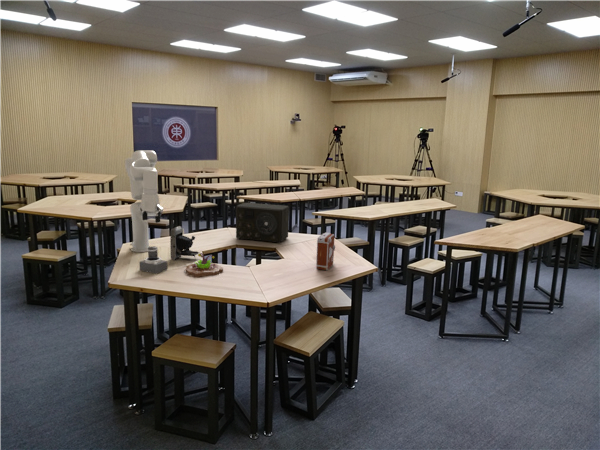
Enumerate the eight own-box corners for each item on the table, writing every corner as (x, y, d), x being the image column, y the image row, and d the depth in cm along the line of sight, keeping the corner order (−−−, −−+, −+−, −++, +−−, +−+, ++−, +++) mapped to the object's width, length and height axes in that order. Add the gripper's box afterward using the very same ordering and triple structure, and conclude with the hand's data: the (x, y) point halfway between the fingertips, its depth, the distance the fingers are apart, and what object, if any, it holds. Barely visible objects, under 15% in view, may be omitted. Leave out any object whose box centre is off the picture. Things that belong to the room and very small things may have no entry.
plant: (180, 269, 255) (179, 251, 253) (211, 264, 267) (211, 246, 265) (194, 279, 240) (194, 259, 237) (227, 273, 251) (227, 254, 249)
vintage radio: (231, 239, 326) (231, 206, 321) (242, 234, 345) (242, 202, 340) (280, 244, 317) (281, 210, 311) (288, 238, 335) (289, 205, 330)
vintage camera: (193, 262, 270) (194, 230, 266) (169, 259, 273) (170, 227, 269) (199, 258, 279) (200, 227, 275) (177, 255, 282) (177, 224, 278)
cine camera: (337, 262, 277) (338, 231, 273) (329, 271, 259) (330, 238, 255) (323, 261, 280) (324, 230, 276) (313, 269, 262) (315, 236, 258)
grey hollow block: (139, 270, 251) (139, 259, 250) (151, 266, 259) (151, 255, 258) (155, 273, 246) (155, 262, 245) (167, 269, 254) (166, 258, 253)
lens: (146, 261, 250) (145, 248, 249) (153, 259, 255) (152, 246, 253) (153, 263, 248) (152, 249, 247) (160, 260, 253) (159, 247, 251)
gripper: (133, 190, 250) (135, 220, 254) (157, 194, 242) (158, 224, 246) (144, 188, 256) (145, 217, 260) (167, 192, 249) (167, 222, 253)
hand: (151, 221), depth 253 cm, fingers open, 9 cm apart
